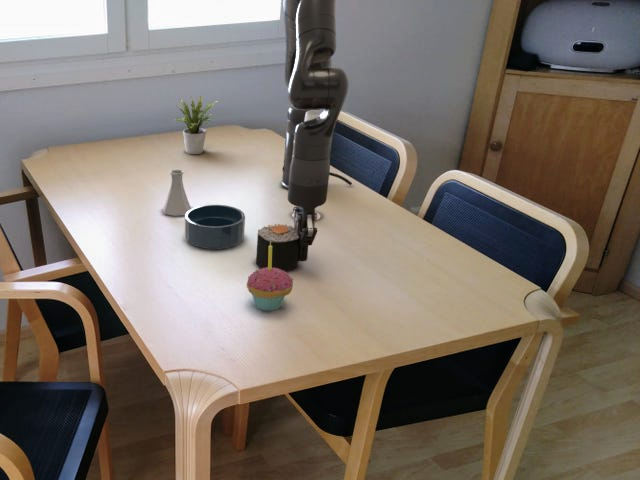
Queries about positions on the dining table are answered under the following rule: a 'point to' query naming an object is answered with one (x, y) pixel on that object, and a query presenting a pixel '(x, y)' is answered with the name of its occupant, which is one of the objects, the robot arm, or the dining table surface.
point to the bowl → (214, 226)
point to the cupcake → (269, 285)
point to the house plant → (194, 127)
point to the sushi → (278, 247)
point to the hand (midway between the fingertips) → (300, 259)
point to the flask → (176, 196)
